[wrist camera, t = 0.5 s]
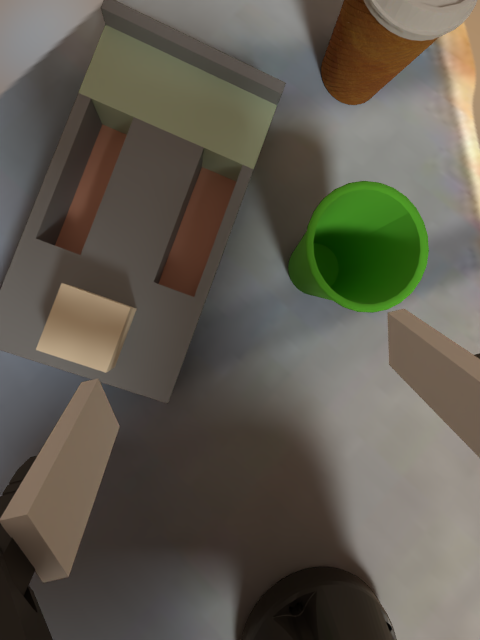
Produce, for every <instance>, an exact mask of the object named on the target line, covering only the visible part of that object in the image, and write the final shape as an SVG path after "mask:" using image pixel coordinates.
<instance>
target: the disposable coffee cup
mask: <svg viewBox="0 0 480 640" xmlns="http://www.w3.org/2000/svg"><path fill="white" fill-rule="evenodd" d="M476 2H477V0H344V2H343V5H342V8H341V11H340V14H339V16H338V20H337V22H336V25H335V28H334V30H333V33H332V36H331V39H330V42H329V45H328V47H327V50H326V53H325V56H324V59H323V61H322V66H321V75H322V80H323V82H324V85H325V87H326V88H327V90H328V92H329V93H330V94H331V95H332V96H333V97H334V98H335V99H337V100H338V101H340V102H342V103H345V104H348V105H357V104H362V103H365V102H366V101H368V100H369V99H370V98H372V97H373V96H374V95H375V94H376V93H377V92H378V91H379V90H380V89H382V88H383V87H384V86H385V85H386V84H387V83H388V82H389V81H391V80H392V79H393V78H394V77H395V76H396V75H397V74H398V73H400V72H401V71H402V70H403V69H404V68H405V67H406V66H407V65H409V64H410V63H411V62H412V61H413V60H414V59H415V58H416V57H417V56H419V55H420V54H421V53H422V52H423V51H424V50H425V49H427V48H428V47H429V46H430V45H431V44H432V43H433V42H434V41H435V40H436V39H437V38H439V37H440V36H443V35H444V34H446V33H448V32H450V31H452V30H454V29H456V28H457V27H458V26H459V25H461V24H462V23H463V22H464V21H465V20H466V19H467V17H468V16H469V15H470V14H471V12H472V10H473V9H474V7H475V5H476Z"/></svg>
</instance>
